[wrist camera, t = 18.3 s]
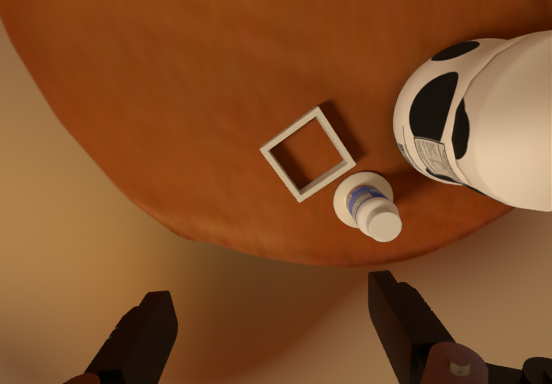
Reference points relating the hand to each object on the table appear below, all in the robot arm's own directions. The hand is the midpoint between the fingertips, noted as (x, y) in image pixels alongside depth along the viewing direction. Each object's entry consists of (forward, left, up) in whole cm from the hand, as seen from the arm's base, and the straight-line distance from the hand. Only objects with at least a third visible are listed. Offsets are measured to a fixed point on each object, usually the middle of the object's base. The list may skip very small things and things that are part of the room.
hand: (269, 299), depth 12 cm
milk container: (+10, +23, -32) cm, 41 cm away
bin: (+3, +4, -32) cm, 32 cm away
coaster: (+14, +7, -32) cm, 36 cm away
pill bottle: (+14, +7, -32) cm, 35 cm away
